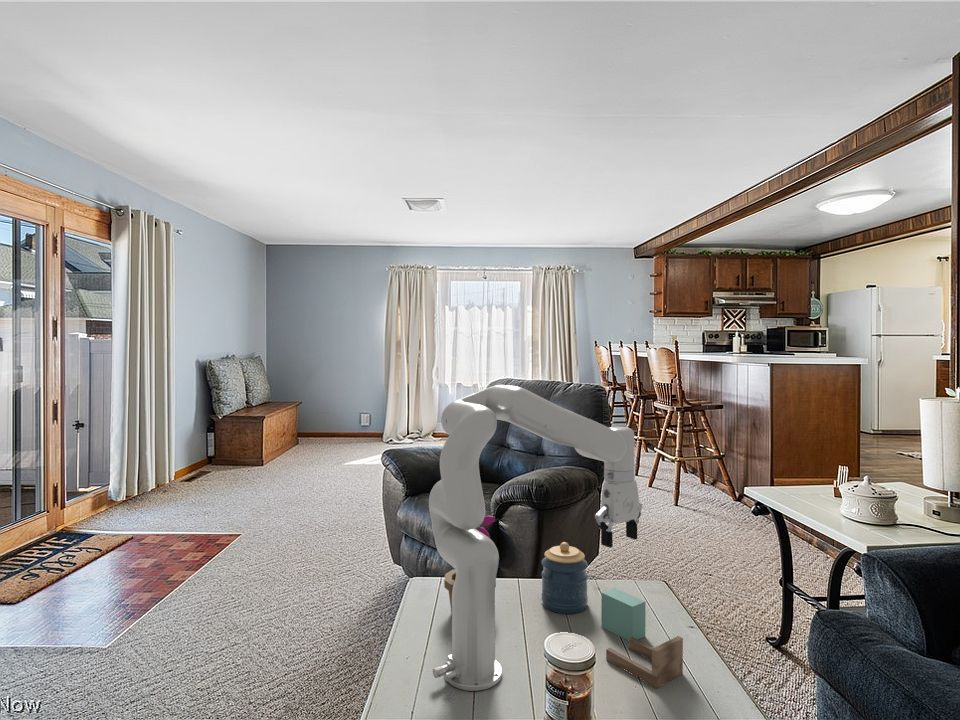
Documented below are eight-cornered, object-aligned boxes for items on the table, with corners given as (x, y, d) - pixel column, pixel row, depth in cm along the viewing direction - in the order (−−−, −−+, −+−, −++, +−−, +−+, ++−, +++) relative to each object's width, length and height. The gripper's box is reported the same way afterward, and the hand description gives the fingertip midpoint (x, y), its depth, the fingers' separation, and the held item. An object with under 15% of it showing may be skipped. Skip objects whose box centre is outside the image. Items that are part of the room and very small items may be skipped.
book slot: (656, 688, 119) (656, 651, 119) (606, 660, 130) (606, 625, 130) (682, 673, 124) (682, 638, 124) (632, 647, 136) (632, 614, 135)
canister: (556, 618, 150) (556, 553, 150) (533, 599, 162) (533, 538, 162) (597, 609, 155) (597, 546, 155) (571, 591, 167) (571, 532, 167)
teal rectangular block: (632, 643, 138) (632, 606, 138) (601, 626, 146) (601, 592, 146) (645, 636, 141) (645, 601, 141) (614, 621, 149) (614, 587, 149)
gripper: (608, 483, 135) (608, 553, 136) (652, 473, 146) (652, 538, 146) (585, 477, 141) (585, 545, 142) (629, 468, 152) (629, 531, 152)
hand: (619, 541), depth 144 cm, fingers open, 9 cm apart
